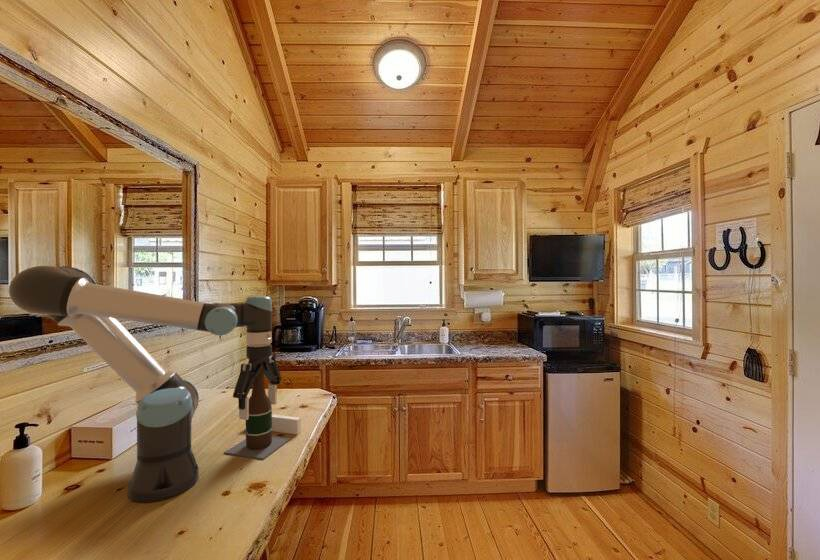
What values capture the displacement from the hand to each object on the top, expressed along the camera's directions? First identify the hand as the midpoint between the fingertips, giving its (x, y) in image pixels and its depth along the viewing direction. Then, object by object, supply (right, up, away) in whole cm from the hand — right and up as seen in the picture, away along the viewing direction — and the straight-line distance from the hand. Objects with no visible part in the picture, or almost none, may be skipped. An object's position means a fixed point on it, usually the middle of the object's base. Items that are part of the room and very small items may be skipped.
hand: (258, 411), depth 115 cm
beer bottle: (0, -11, 0) cm, 11 cm away
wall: (0, -11, +12) cm, 17 cm away
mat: (0, -11, 0) cm, 11 cm away
